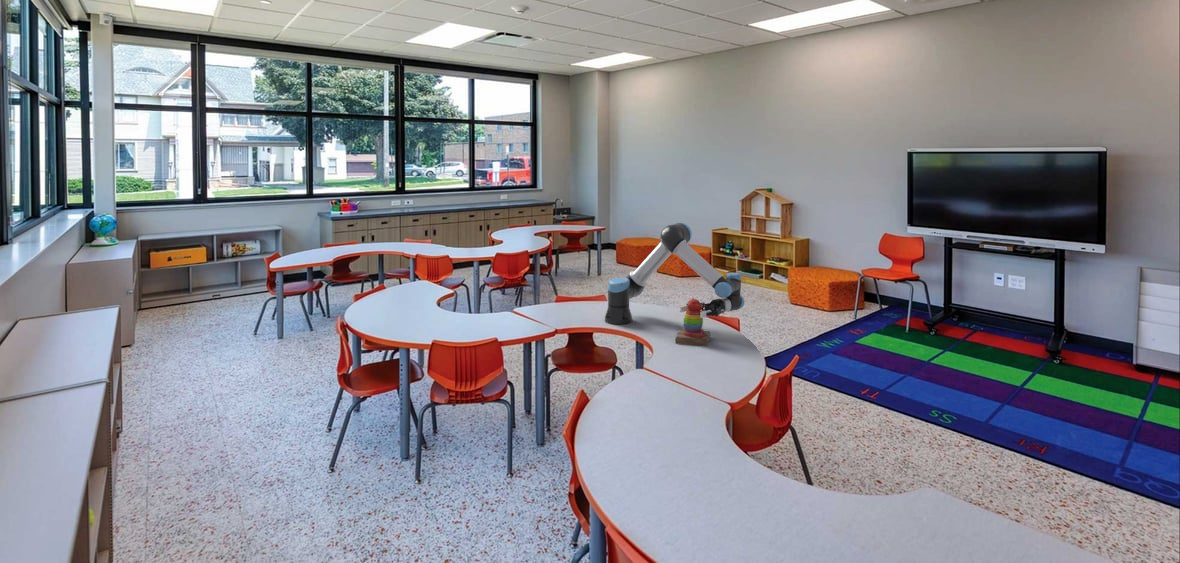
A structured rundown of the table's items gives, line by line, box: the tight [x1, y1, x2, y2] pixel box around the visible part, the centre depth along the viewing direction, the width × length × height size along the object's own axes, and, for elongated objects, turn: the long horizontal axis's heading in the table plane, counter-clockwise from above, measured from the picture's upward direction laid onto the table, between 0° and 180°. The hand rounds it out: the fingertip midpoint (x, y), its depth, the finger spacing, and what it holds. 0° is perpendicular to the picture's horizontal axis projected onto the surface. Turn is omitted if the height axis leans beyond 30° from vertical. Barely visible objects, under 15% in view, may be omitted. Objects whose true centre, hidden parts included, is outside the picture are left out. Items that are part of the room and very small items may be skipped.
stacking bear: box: [682, 297, 705, 338], centre depth 298 cm, size 11×10×18 cm
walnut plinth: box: [675, 328, 711, 347], centre depth 300 cm, size 15×15×3 cm
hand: (690, 312), depth 296 cm, fingers open, 13 cm apart
